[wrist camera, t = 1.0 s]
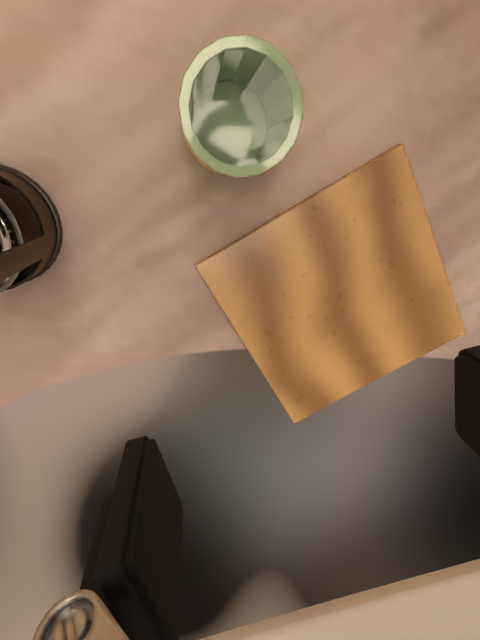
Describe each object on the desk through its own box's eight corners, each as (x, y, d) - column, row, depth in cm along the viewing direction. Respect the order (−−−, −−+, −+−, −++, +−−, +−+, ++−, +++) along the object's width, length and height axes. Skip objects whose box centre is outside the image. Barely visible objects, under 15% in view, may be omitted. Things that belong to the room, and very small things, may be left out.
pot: (245, 55, 28) (267, 6, 19) (286, 146, 30) (322, 137, 22) (165, 106, 28) (153, 80, 20) (212, 191, 31) (220, 199, 23)
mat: (399, 144, 31) (403, 143, 31) (461, 330, 39) (465, 332, 38) (195, 264, 33) (195, 266, 33) (292, 420, 41) (294, 423, 40)
